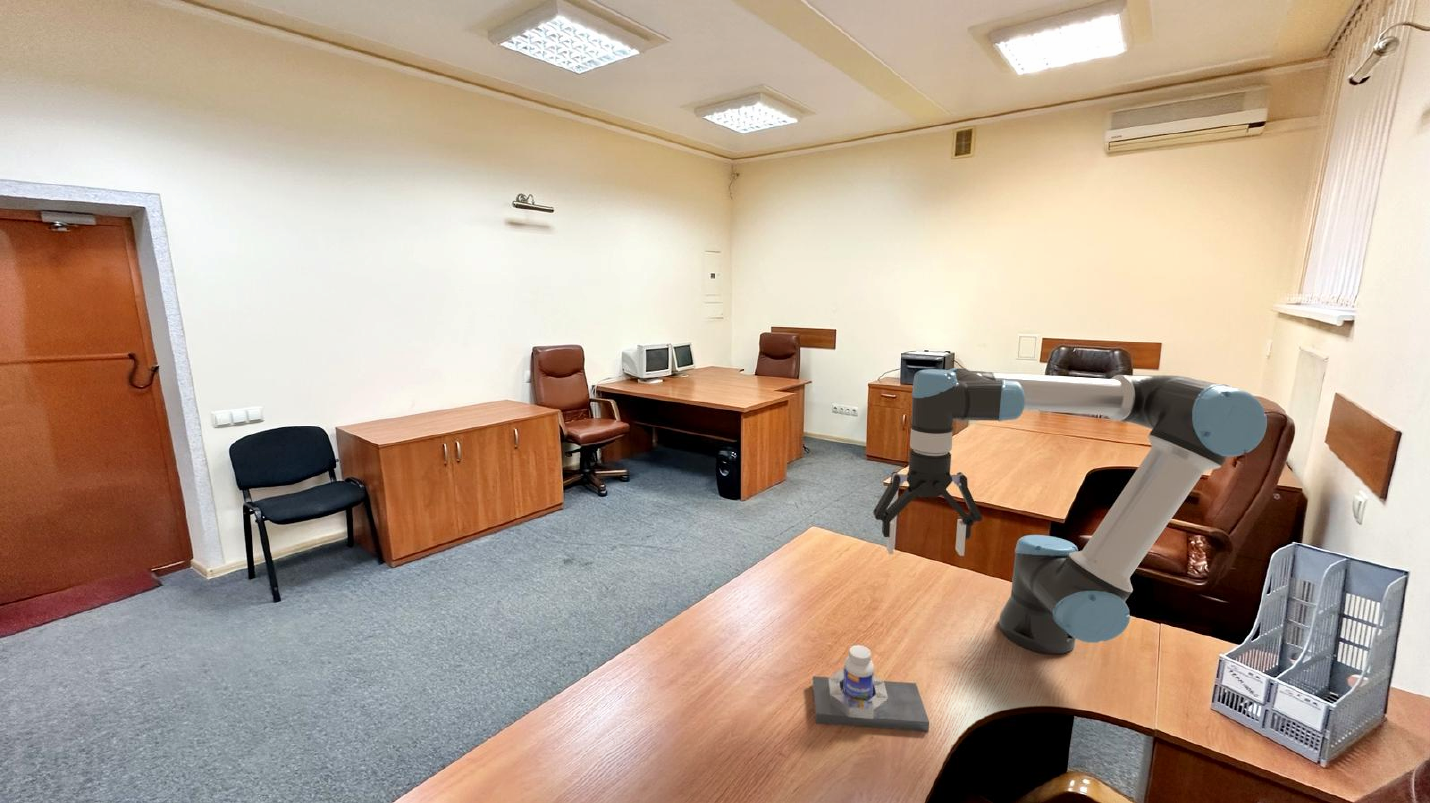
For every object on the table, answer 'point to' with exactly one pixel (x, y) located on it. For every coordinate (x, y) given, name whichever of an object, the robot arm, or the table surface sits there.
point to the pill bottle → (858, 674)
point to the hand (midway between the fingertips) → (924, 552)
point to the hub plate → (888, 719)
